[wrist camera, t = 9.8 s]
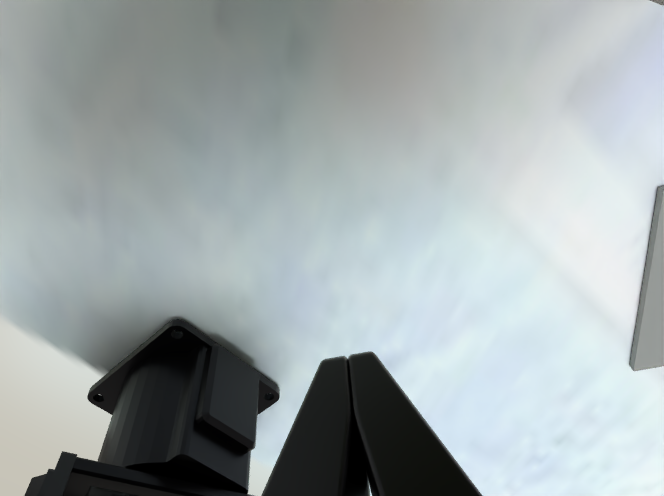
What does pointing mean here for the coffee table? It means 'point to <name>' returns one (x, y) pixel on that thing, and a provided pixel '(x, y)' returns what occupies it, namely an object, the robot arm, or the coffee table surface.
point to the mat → (651, 299)
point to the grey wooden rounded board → (658, 1)
